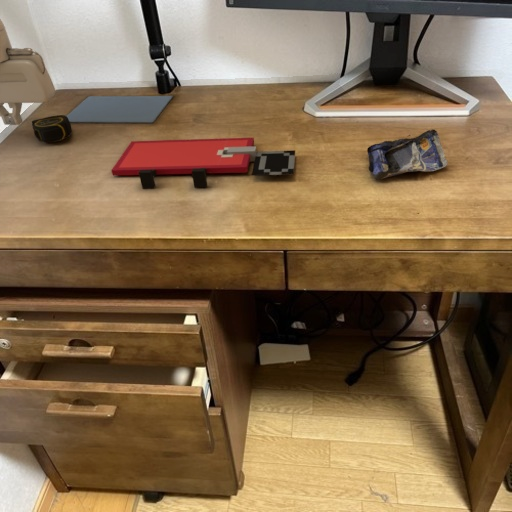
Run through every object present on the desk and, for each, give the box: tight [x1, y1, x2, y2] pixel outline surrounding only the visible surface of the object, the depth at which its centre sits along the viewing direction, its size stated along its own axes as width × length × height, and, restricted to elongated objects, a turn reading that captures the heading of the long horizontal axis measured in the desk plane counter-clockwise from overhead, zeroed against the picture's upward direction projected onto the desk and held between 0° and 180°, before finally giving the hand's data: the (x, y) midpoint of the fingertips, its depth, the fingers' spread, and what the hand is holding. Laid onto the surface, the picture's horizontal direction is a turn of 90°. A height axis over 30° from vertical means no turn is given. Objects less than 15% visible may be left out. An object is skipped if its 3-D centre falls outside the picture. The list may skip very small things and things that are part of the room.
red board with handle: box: [110, 137, 296, 190], centre depth 82 cm, size 30×3×15 cm
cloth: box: [66, 95, 174, 124], centre depth 106 cm, size 20×14×1 cm
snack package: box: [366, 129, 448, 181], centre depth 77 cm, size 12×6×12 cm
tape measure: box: [31, 114, 73, 143], centre depth 95 cm, size 7×7×4 cm
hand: (14, 123), depth 95 cm, fingers closed
